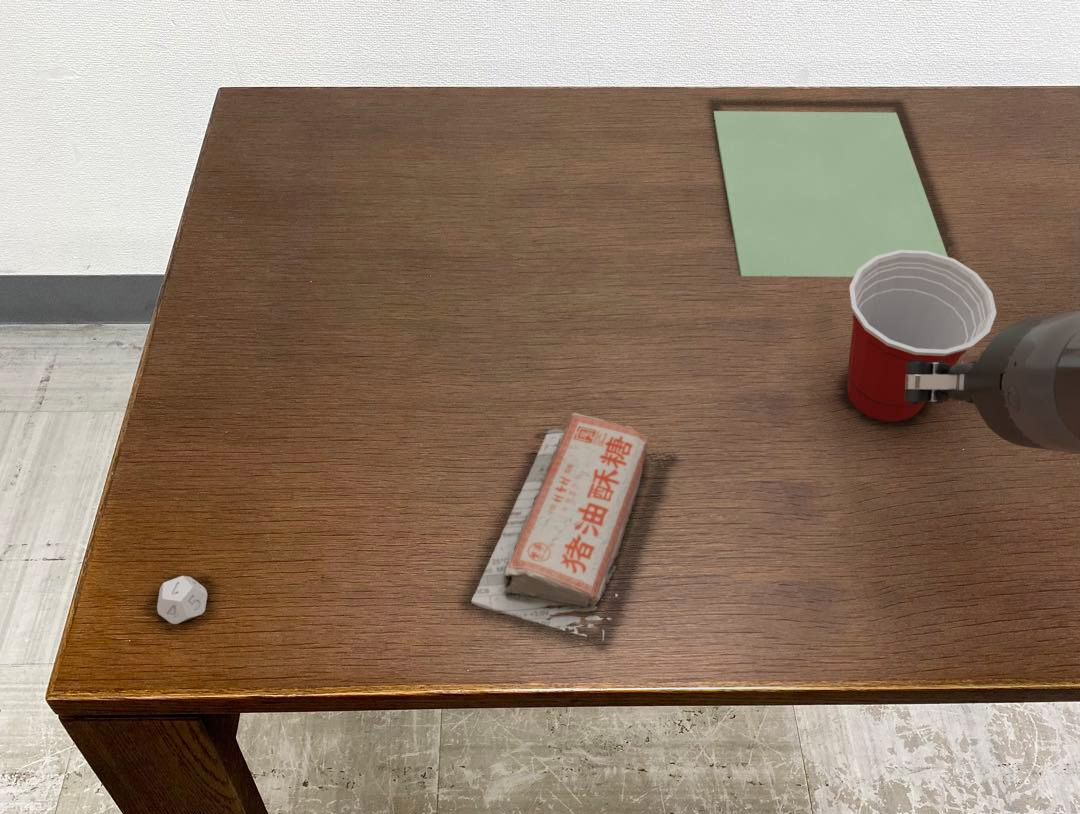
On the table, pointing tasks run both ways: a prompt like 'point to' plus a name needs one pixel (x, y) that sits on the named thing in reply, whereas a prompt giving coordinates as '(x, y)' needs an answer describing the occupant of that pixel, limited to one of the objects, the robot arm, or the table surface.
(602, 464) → the packaged product
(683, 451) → the table surface
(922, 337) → the plastic cup
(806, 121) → the mat
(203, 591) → the game die
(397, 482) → the table surface
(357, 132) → the table surface
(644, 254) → the table surface
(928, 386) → the robot arm
